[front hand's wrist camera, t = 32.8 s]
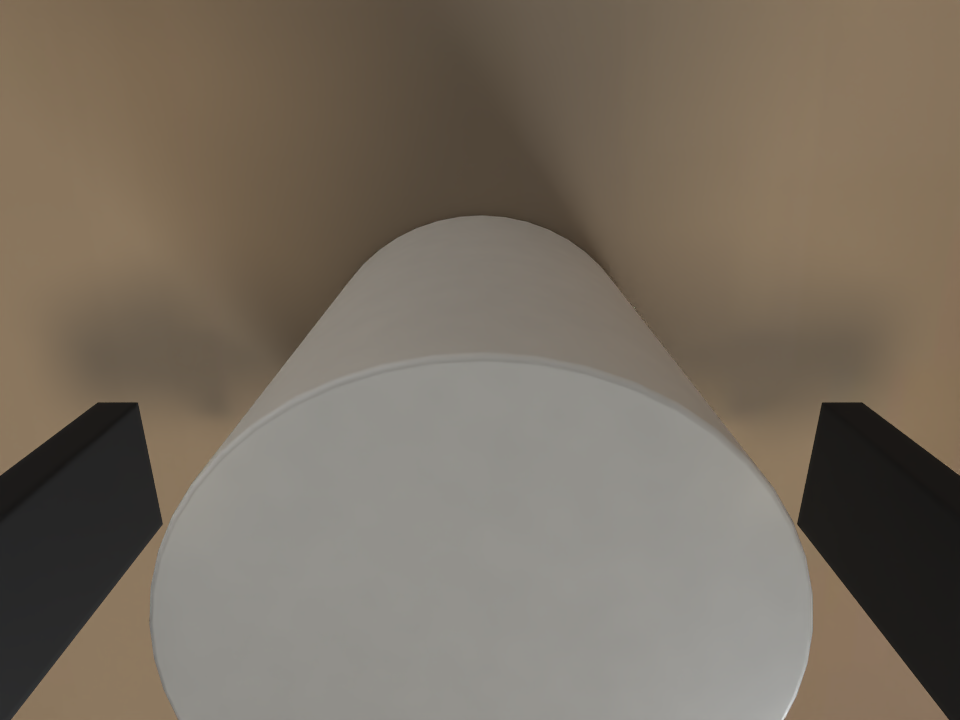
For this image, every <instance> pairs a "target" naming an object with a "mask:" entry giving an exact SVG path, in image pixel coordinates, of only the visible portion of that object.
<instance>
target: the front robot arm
mask: <svg viewBox="0 0 960 720" xmlns="http://www.w3.org/2000/svg"><path fill="white" fill-rule="evenodd" d="M162 524H163V523H162V518H161V513H160V508H159V503H158V498H157V494H156V489H155V484H154V479H153V474H152V469H151V464H150V459H149V455H148V450H147V445H146V440H145V435H144V430H143V425H142V420H141V416H140V411H139V406H138V403H97V404H95V405H94V406H93V407H91V408H90V409H89V410H87V411H86V412H85V413H83V414H82V415H81V416H79V417H78V418H77V419H75V420H74V421H73V422H71V423H70V424H69V425H67V426H66V427H65V428H63V429H62V430H61V431H59V432H58V433H57V434H55V435H54V436H53V437H51V438H50V439H49V440H47V441H46V442H45V443H43V444H42V445H41V446H39V447H38V448H37V449H35V450H34V451H33V452H31V453H30V454H29V455H27V456H26V457H25V458H23V459H22V460H21V461H19V462H18V463H17V464H15V465H14V466H13V467H11V468H10V469H9V470H7V471H6V472H5V473H3V474H2V475H1V476H0V720H11V719H12V718H13V716H14V715H15V714H16V712H17V711H18V710H19V709H20V707H21V706H22V705H23V703H24V702H25V701H26V700H27V698H28V697H29V696H30V694H31V693H32V692H33V691H34V689H35V688H36V687H37V685H38V684H39V683H40V682H41V680H42V679H43V678H44V676H45V675H46V674H47V673H48V671H49V670H50V669H51V667H52V666H53V665H54V664H55V662H56V661H57V660H58V658H59V657H60V656H61V655H62V653H63V652H64V651H65V649H66V648H67V647H68V645H69V644H70V643H71V642H72V640H73V639H74V638H75V636H76V635H77V634H78V633H79V631H80V630H81V629H82V627H83V626H84V625H85V624H86V622H87V621H88V620H89V618H90V617H91V616H92V615H93V613H94V612H95V611H96V609H97V608H98V607H99V606H100V604H101V603H102V602H103V600H104V599H105V598H106V597H107V595H108V594H109V593H110V591H111V590H112V589H113V588H114V586H115V585H116V584H117V582H118V581H119V580H120V579H121V577H122V576H123V575H124V573H125V572H126V571H127V570H128V568H129V567H130V566H131V564H132V563H133V562H134V561H135V559H136V558H137V557H138V555H139V554H140V553H141V552H142V550H143V549H144V548H145V546H146V545H147V544H148V542H149V541H150V540H151V539H152V537H153V536H154V535H155V533H156V532H157V531H158V530H159V528H160V527H161V526H162ZM797 524H798V526H799V527H800V528H801V530H802V531H803V532H804V533H805V535H806V536H807V537H808V539H809V540H810V541H811V542H812V544H813V545H814V546H815V548H816V549H817V550H818V552H819V553H820V554H821V555H822V557H823V558H824V559H825V561H826V562H827V563H828V564H829V566H830V567H831V568H832V570H833V571H834V572H835V573H836V575H837V576H838V577H839V579H840V580H841V581H842V582H843V584H844V585H845V586H846V588H847V589H848V590H849V591H850V593H851V594H852V595H853V597H854V598H855V599H856V600H857V602H858V603H859V604H860V606H861V607H862V608H863V609H864V611H865V612H866V613H867V615H868V616H869V617H870V618H871V620H872V621H873V622H874V624H875V625H876V626H877V627H878V629H879V630H880V631H881V633H882V634H883V635H884V636H885V638H886V639H887V640H888V642H889V643H890V644H891V646H892V647H893V648H894V649H895V651H896V652H897V653H898V655H899V656H900V657H901V658H902V660H903V661H904V662H905V664H906V665H907V666H908V667H909V669H910V670H911V671H912V673H913V674H914V675H915V676H916V678H917V679H918V680H919V682H920V683H921V684H922V685H923V687H924V688H925V689H926V691H927V692H928V693H929V694H930V696H931V697H932V698H933V700H934V701H935V702H936V703H937V705H938V706H939V707H940V709H941V710H942V711H943V712H944V714H945V715H946V716H947V718H948V719H949V720H960V476H959V475H958V474H957V473H955V472H954V471H953V470H951V469H950V468H949V467H947V466H946V465H945V464H943V463H942V462H941V461H939V460H938V459H937V458H935V457H934V456H933V455H931V454H930V453H929V452H927V451H926V450H925V449H923V448H922V447H921V446H919V445H918V444H917V443H915V442H914V441H913V440H911V439H910V438H909V437H907V436H906V435H905V434H903V433H902V432H901V431H899V430H898V429H897V428H895V427H894V426H893V425H891V424H890V423H889V422H887V421H886V420H885V419H883V418H882V417H881V416H879V415H878V414H877V413H875V412H874V411H873V410H871V409H870V408H869V407H867V406H866V405H865V404H863V403H822V406H821V411H820V416H819V420H818V425H817V430H816V435H815V440H814V445H813V450H812V455H811V459H810V464H809V469H808V474H807V479H806V484H805V489H804V494H803V498H802V503H801V508H800V513H799V518H798V523H797Z"/></svg>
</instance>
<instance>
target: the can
mask: <svg viewBox="0 0 960 720" xmlns="http://www.w3.org/2000/svg"><path fill="white" fill-rule="evenodd" d="M150 631H151V639H152V646H153V654H154V659H155V663H156V666H157V669H158V672H159V676H160V679H161V682H162V685H163V689H164V691H165V693H166V695H167V698H168V700H169V702H170V704H171V706H172V708H173V710H174V712H175V714H176V716H177V718H178V720H784V719H785V717H786V715H787V713H788V711H789V709H790V707H791V705H792V703H793V702H794V700H795V698H796V696H797V693H798V690H799V687H800V684H801V681H802V678H803V675H804V672H805V669H806V666H807V662H808V656H809V650H810V644H811V638H812V631H813V602H812V588H811V583H810V577H809V572H808V566H807V560H806V556H805V553H804V550H803V548H802V545H801V542H800V539H799V537H798V534H797V531H796V528H795V526H794V523H793V521H792V519H791V517H790V516H789V514H788V512H787V510H786V509H785V507H784V505H783V503H782V502H781V500H780V498H779V496H778V495H777V493H776V491H775V489H774V488H773V486H772V485H771V484H770V483H769V481H768V480H767V479H766V477H765V476H764V475H763V474H762V472H761V471H760V470H759V468H758V467H757V466H756V465H755V463H754V462H753V461H752V459H751V458H750V457H749V456H748V454H747V453H746V452H745V451H744V449H743V448H742V447H741V445H740V444H739V443H738V442H737V440H736V439H735V438H734V436H733V435H732V434H731V433H730V431H729V430H728V429H727V427H726V426H725V425H724V424H723V422H722V421H721V420H720V418H719V417H718V416H717V415H716V413H715V412H714V411H713V409H712V408H711V407H710V406H709V404H708V403H707V402H706V400H705V399H704V398H703V397H702V395H701V394H700V393H699V391H698V390H697V389H696V388H695V386H694V385H693V384H692V382H691V381H690V380H689V379H688V377H687V376H686V375H685V374H684V372H683V371H682V370H681V368H680V367H679V366H678V365H677V363H676V362H675V361H674V359H673V358H672V357H671V356H670V354H669V353H668V352H667V350H666V349H665V348H664V347H663V345H662V344H661V343H660V341H659V340H658V339H657V338H656V336H655V335H654V334H653V332H652V331H651V330H650V329H649V327H648V326H647V325H646V323H645V322H644V321H643V320H642V318H641V317H640V316H639V314H638V313H637V312H636V311H635V309H634V308H633V307H632V305H631V304H630V303H629V302H628V300H627V299H626V298H625V296H624V295H623V294H622V293H621V291H620V290H619V289H618V288H617V286H616V285H615V284H614V282H613V281H612V280H611V279H610V277H609V276H608V275H607V274H606V272H605V271H604V270H603V269H602V267H601V266H600V265H599V264H598V263H597V262H595V261H594V260H593V259H592V258H591V257H590V256H589V255H588V254H587V253H586V252H585V251H583V250H582V249H580V248H579V247H578V246H576V245H575V244H573V243H572V242H571V241H569V240H568V239H566V238H564V237H562V236H560V235H558V234H556V233H554V232H552V231H550V230H548V229H546V228H543V227H540V226H537V225H535V224H532V223H529V222H526V221H521V220H516V219H512V218H507V217H497V216H484V215H481V216H463V217H456V218H451V219H445V220H440V221H436V222H433V223H430V224H427V225H424V226H421V227H418V228H416V229H414V230H412V231H410V232H408V233H406V234H404V235H402V236H400V237H398V238H396V239H395V240H393V241H392V242H390V243H389V244H387V245H386V246H384V247H383V248H381V249H380V250H379V251H378V252H376V253H375V254H374V255H373V256H372V257H371V258H370V259H369V260H367V261H366V262H365V263H364V264H363V265H362V266H361V268H360V269H359V270H358V271H357V272H356V274H355V275H354V276H353V277H352V278H351V280H350V281H349V282H348V283H347V285H346V286H345V287H344V289H343V290H342V291H341V292H340V294H339V295H338V296H337V298H336V299H335V300H334V301H333V303H332V304H331V305H330V307H329V308H328V309H327V310H326V312H325V313H324V314H323V316H322V317H321V318H320V319H319V321H318V322H317V323H316V325H315V326H314V327H313V328H312V330H311V331H310V332H309V334H308V335H307V336H306V337H305V339H304V340H303V341H302V343H301V344H300V345H299V346H298V348H297V349H296V350H295V351H294V353H293V354H292V355H291V357H290V358H289V359H288V360H287V362H286V363H285V364H284V366H283V367H282V368H281V369H280V371H279V372H278V373H277V375H276V376H275V377H274V378H273V380H272V381H271V382H270V384H269V385H268V386H267V387H266V389H265V390H264V391H263V393H262V394H261V395H260V396H259V398H258V399H257V400H256V402H255V403H254V404H253V405H252V407H251V408H250V409H249V411H248V412H247V413H246V414H245V416H244V417H243V418H242V420H241V421H240V422H239V423H238V425H237V426H236V427H235V429H234V430H233V431H232V432H231V434H230V435H229V436H228V438H227V439H226V440H225V441H224V443H223V444H222V445H221V447H220V448H219V449H218V450H217V452H216V453H215V454H214V456H213V457H212V458H211V459H210V461H209V462H208V463H207V465H206V466H205V467H204V468H203V470H202V471H201V472H200V474H199V475H198V476H197V477H196V479H195V480H194V481H193V483H192V484H191V486H190V488H189V489H188V491H187V492H186V494H185V496H184V497H183V499H182V501H181V502H180V504H179V506H178V507H177V509H176V511H175V512H174V514H173V516H172V518H171V520H170V523H169V525H168V528H167V530H166V533H165V535H164V538H163V540H162V543H161V546H160V548H159V551H158V555H157V560H156V565H155V569H154V574H153V579H152V584H151V597H150Z"/></svg>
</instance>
